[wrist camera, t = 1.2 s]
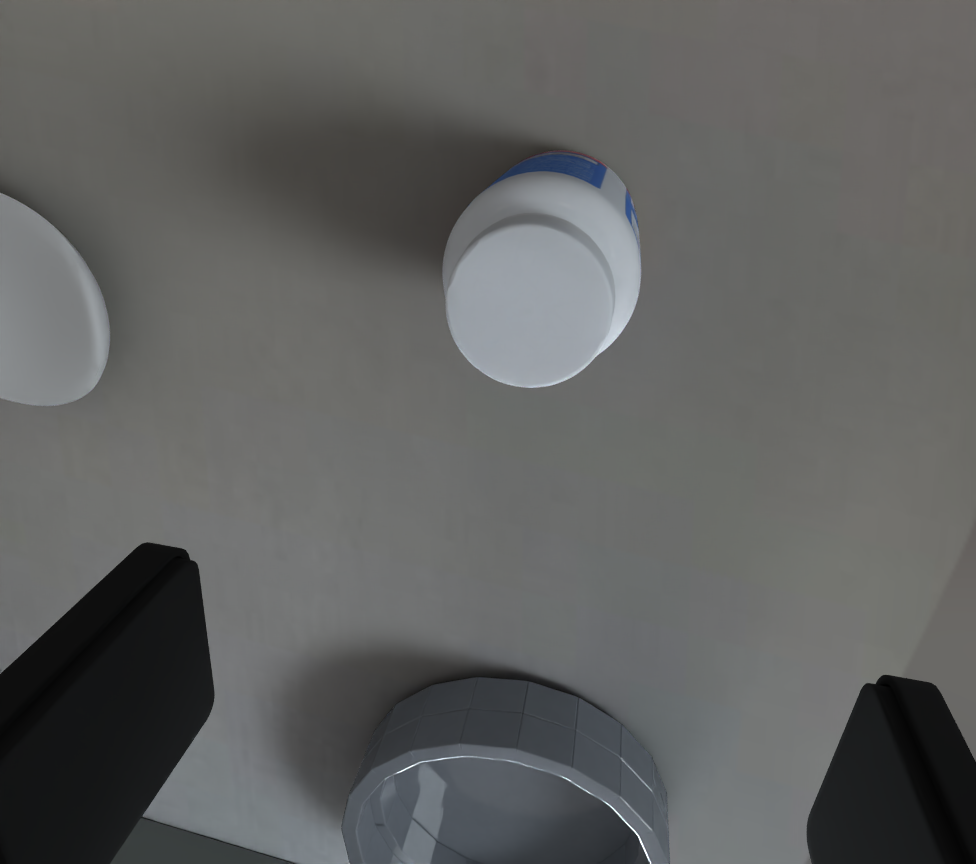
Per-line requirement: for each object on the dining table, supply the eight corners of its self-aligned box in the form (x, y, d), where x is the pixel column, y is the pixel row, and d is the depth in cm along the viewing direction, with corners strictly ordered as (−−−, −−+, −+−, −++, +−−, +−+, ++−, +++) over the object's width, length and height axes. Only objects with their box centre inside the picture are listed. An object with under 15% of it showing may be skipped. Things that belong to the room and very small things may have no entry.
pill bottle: (454, 233, 26) (366, 305, 18) (558, 112, 24) (515, 128, 15) (562, 335, 27) (529, 453, 18) (672, 229, 25) (692, 307, 16)
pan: (609, 644, 33) (605, 721, 29) (702, 868, 38) (709, 960, 34) (323, 697, 38) (287, 769, 34) (440, 889, 43) (421, 971, 39)
